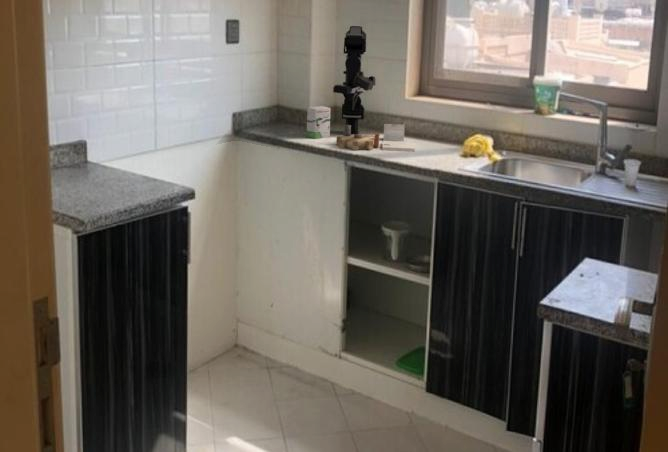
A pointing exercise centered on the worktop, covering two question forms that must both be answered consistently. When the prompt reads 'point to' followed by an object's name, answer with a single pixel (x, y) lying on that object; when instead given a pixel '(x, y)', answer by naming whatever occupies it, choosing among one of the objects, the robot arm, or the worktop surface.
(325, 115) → the ink box
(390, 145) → the pad
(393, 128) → the marked link
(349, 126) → the sprocket
